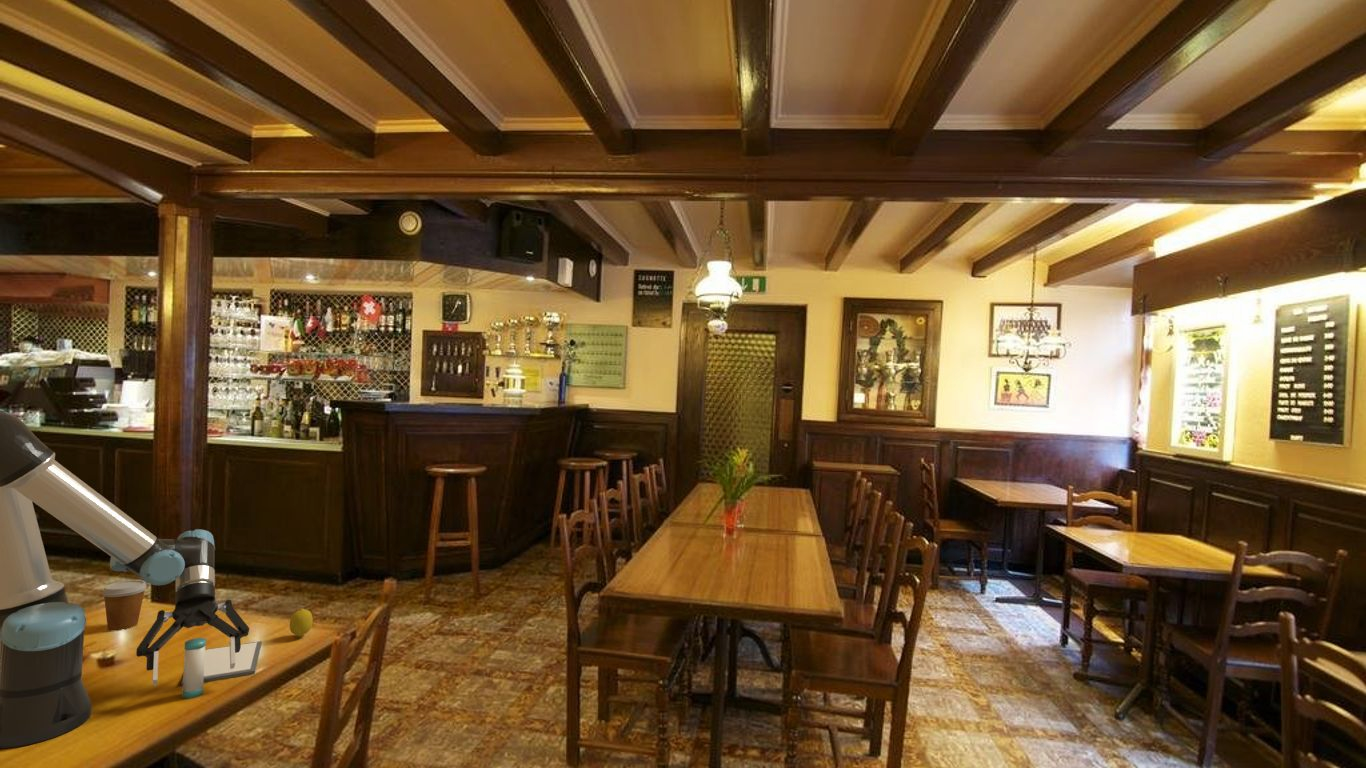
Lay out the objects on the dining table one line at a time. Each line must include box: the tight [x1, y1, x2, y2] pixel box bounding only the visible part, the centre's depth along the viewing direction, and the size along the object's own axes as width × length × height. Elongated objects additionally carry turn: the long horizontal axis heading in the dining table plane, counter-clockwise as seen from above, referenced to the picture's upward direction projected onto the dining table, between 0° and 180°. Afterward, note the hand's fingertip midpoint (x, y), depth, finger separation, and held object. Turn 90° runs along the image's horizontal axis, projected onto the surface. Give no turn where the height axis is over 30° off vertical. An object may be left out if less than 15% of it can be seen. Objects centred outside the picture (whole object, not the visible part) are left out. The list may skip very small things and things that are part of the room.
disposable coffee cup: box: [101, 579, 148, 631], centre depth 173 cm, size 10×10×12 cm
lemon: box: [289, 607, 314, 638], centre depth 170 cm, size 6×6×8 cm
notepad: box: [180, 640, 263, 687], centre depth 152 cm, size 14×20×1 cm
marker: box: [182, 637, 207, 700], centre depth 137 cm, size 4×4×12 cm
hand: (195, 674), depth 135 cm, fingers open, 13 cm apart
